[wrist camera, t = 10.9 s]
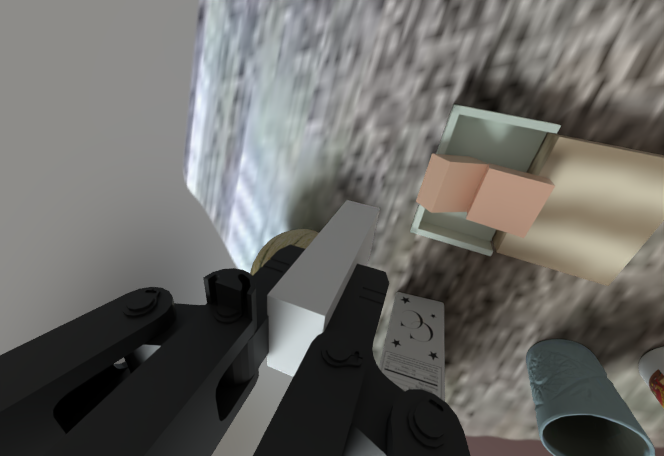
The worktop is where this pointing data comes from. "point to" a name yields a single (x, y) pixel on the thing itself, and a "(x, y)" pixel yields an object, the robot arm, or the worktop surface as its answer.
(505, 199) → the tile
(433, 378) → the cereal box
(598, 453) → the grey-blue hollow tapered cylinder
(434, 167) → the tile
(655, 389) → the milk bottle
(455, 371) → the worktop surface
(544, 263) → the board
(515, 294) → the worktop surface
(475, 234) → the tray
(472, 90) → the worktop surface
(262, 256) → the cantaloupe
